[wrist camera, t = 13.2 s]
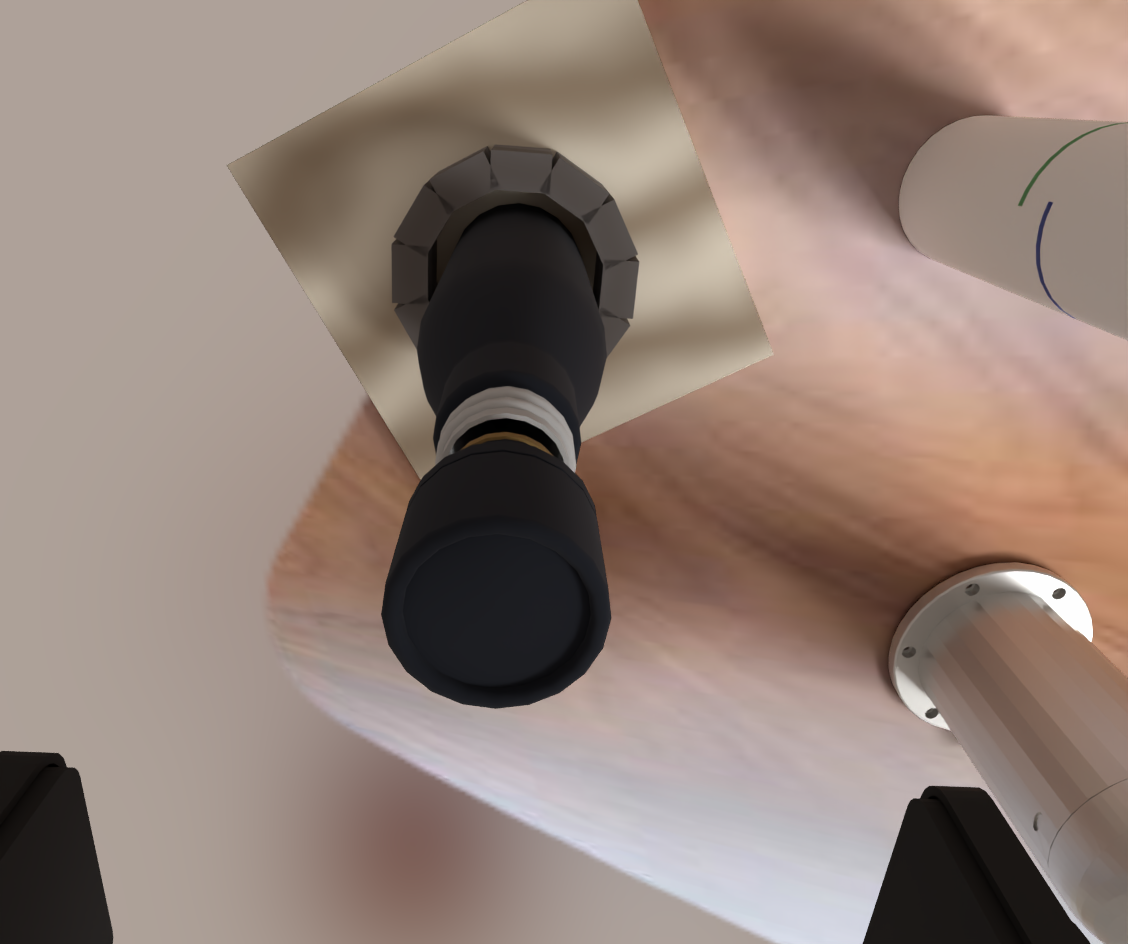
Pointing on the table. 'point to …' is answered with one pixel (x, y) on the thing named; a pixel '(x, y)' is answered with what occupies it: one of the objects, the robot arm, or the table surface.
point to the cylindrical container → (1028, 210)
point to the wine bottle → (504, 473)
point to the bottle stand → (506, 176)
